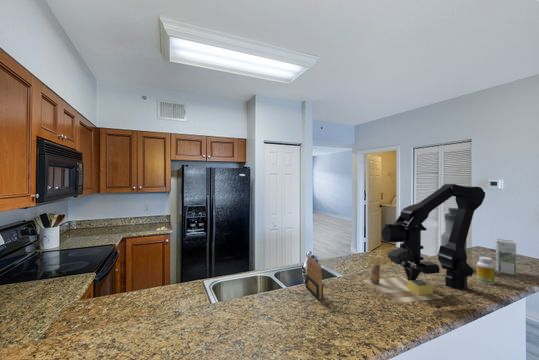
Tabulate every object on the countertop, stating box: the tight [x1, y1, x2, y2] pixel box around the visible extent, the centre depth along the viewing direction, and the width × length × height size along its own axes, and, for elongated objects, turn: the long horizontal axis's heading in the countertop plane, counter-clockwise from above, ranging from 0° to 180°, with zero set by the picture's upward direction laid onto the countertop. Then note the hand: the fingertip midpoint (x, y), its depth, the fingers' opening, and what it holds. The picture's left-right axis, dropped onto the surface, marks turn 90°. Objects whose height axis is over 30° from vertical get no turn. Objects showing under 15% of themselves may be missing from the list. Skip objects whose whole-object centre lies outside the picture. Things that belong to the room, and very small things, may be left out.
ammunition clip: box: [305, 255, 324, 301], centre depth 87 cm, size 11×2×12 cm, turn 14°
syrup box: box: [495, 238, 517, 276], centre depth 111 cm, size 6×6×14 cm
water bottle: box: [440, 207, 468, 264], centre depth 118 cm, size 10×10×28 cm
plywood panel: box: [363, 276, 444, 304], centre depth 90 cm, size 18×19×1 cm
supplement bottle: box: [476, 256, 496, 285], centre depth 99 cm, size 5×5×10 cm
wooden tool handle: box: [370, 262, 381, 284], centre depth 94 cm, size 3×3×7 cm
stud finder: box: [407, 279, 434, 295], centre depth 87 cm, size 6×5×4 cm
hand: (411, 284), depth 91 cm, fingers closed
